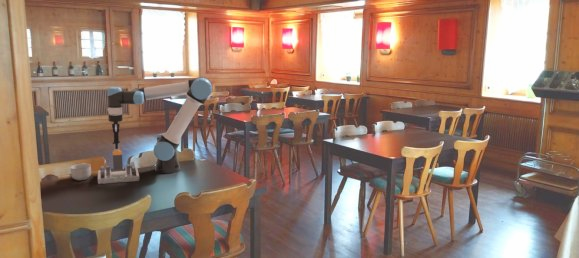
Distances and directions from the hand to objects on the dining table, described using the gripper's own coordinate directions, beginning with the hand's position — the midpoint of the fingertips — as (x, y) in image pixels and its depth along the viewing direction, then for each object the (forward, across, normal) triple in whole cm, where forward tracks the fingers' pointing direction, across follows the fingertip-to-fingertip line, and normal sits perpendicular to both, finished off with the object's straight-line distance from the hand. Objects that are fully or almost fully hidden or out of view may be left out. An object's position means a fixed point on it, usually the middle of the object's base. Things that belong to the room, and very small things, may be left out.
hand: (116, 154), depth 272 cm
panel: (+14, +3, 0) cm, 14 cm away
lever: (+9, +2, 0) cm, 9 cm away
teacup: (+14, -3, -19) cm, 24 cm away
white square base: (+11, +3, 0) cm, 11 cm away
